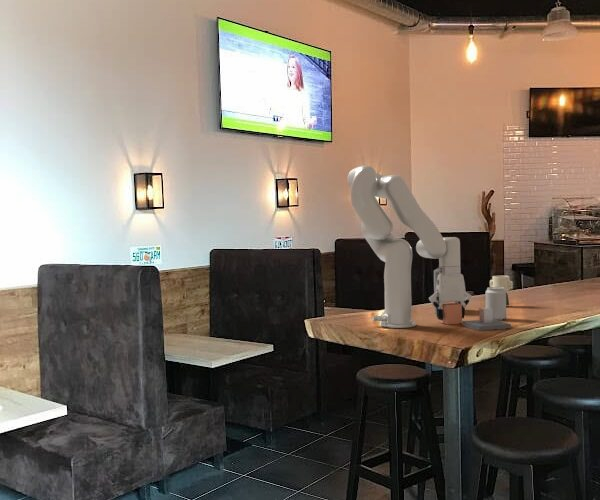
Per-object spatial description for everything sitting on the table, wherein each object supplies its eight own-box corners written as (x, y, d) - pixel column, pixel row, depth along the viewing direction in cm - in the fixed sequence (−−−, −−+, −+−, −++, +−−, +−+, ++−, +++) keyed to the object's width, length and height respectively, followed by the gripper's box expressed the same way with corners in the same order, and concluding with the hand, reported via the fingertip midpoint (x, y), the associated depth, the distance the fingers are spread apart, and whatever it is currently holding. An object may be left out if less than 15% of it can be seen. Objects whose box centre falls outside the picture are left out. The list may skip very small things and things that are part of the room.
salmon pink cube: (446, 324, 233) (446, 305, 232) (439, 322, 239) (439, 303, 238) (462, 323, 234) (461, 304, 234) (454, 321, 240) (454, 302, 240)
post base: (479, 330, 218) (478, 311, 218) (462, 325, 230) (461, 307, 230) (510, 328, 221) (510, 309, 221) (492, 323, 233) (492, 305, 232)
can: (491, 321, 237) (491, 288, 237) (482, 318, 245) (481, 286, 244) (510, 320, 239) (509, 287, 238) (500, 317, 246) (499, 286, 246)
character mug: (517, 306, 274) (517, 276, 273) (508, 308, 269) (507, 277, 268) (494, 304, 282) (494, 274, 281) (485, 306, 277) (485, 276, 277)
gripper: (432, 272, 230) (433, 321, 231) (476, 270, 234) (477, 318, 235) (423, 271, 237) (424, 318, 238) (466, 269, 241) (467, 315, 242)
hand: (450, 318), depth 236 cm, fingers open, 7 cm apart
